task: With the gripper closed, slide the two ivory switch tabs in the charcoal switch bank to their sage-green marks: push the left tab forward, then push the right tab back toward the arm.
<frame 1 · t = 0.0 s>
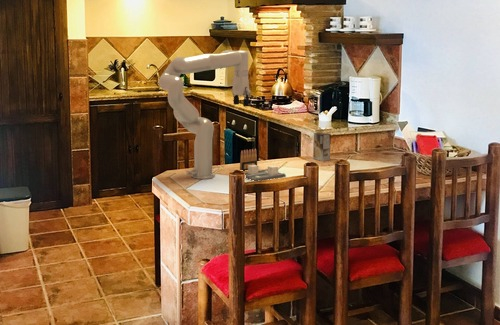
hand: (241, 105, 357), 37 cm above the countertop, tool pointing down, fingers open, 9 cm apart
switch bank: (262, 176, 353), on the countertop
ammunition clip: (248, 170, 368), on the countertop
coffee box: (321, 159, 397), on the countertop
tab a: (253, 169, 353), point 4 cm above the countertop, slide at 0.0 cm
tab b: (272, 170, 352), point 4 cm above the countertop, slide at 0.0 cm
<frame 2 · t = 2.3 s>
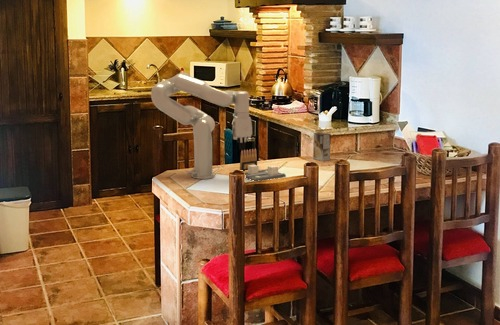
hand: (242, 149, 347), 15 cm above the countertop, tool pointing down, fingers closed
nothing on the countertop moved.
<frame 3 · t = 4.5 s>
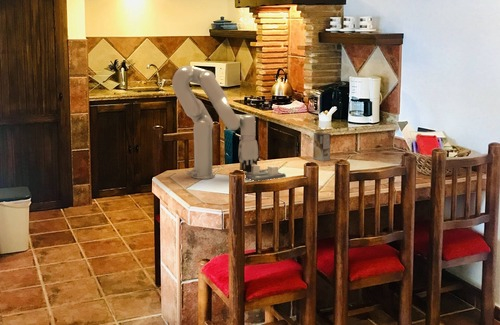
hand: (248, 171, 351), 3 cm above the countertop, tool pointing down, fingers closed
tab a: (254, 169, 354), point 4 cm above the countertop, slide at 0.9 cm, touching gripper
everything else where it was.
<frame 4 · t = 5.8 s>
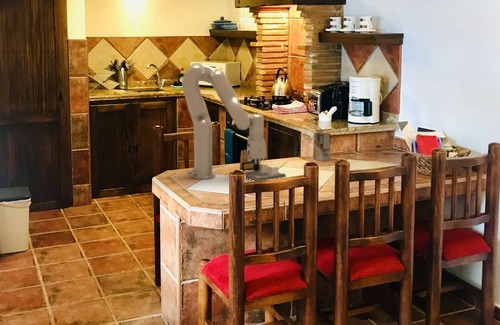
hand: (256, 170, 354), 3 cm above the countertop, tool pointing down, fingers closed
tab a: (262, 168, 357), point 4 cm above the countertop, slide at 6.2 cm, touching gripper
everything else where it was.
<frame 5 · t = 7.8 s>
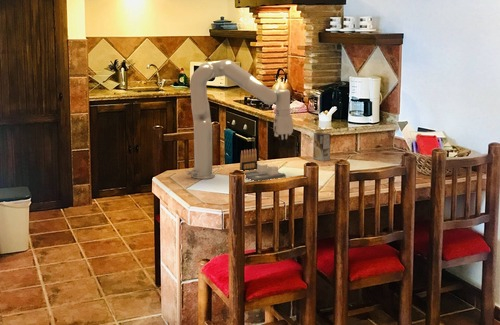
hand: (283, 146, 353), 16 cm above the countertop, tool pointing down, fingers closed
tab a: (262, 168, 356), point 4 cm above the countertop, slide at 6.0 cm
everything else where it was.
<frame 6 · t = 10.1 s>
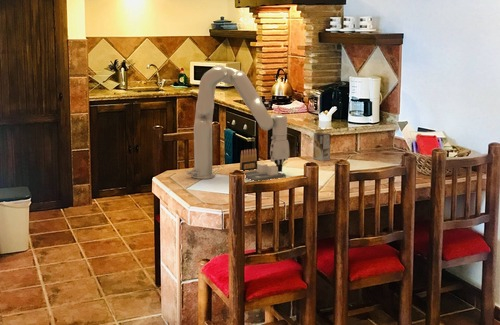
hand: (279, 171, 354), 3 cm above the countertop, tool pointing down, fingers closed
tab b: (272, 170, 352), point 4 cm above the countertop, slide at 0.1 cm, touching gripper
everything else where it was.
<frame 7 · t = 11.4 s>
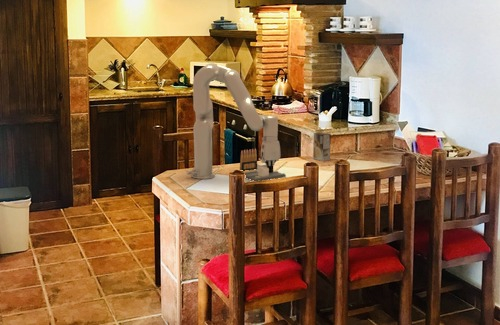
hand: (270, 172, 351), 3 cm above the countertop, tool pointing down, fingers closed
tab b: (263, 171, 349), point 4 cm above the countertop, slide at 6.1 cm, touching gripper
everything else where it was.
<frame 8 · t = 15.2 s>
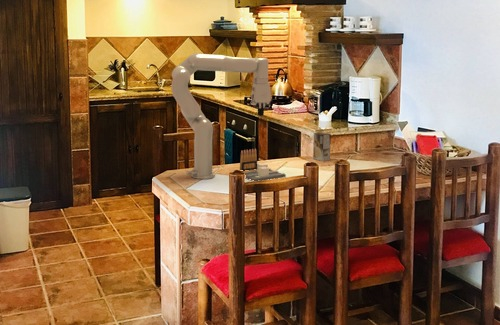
hand: (260, 115, 354), 32 cm above the countertop, tool pointing down, fingers closed
tab b: (263, 171, 349), point 4 cm above the countertop, slide at 6.0 cm
everything else where it was.
at the end: tab a slide at 6.0 cm; tab b slide at 6.0 cm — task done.
